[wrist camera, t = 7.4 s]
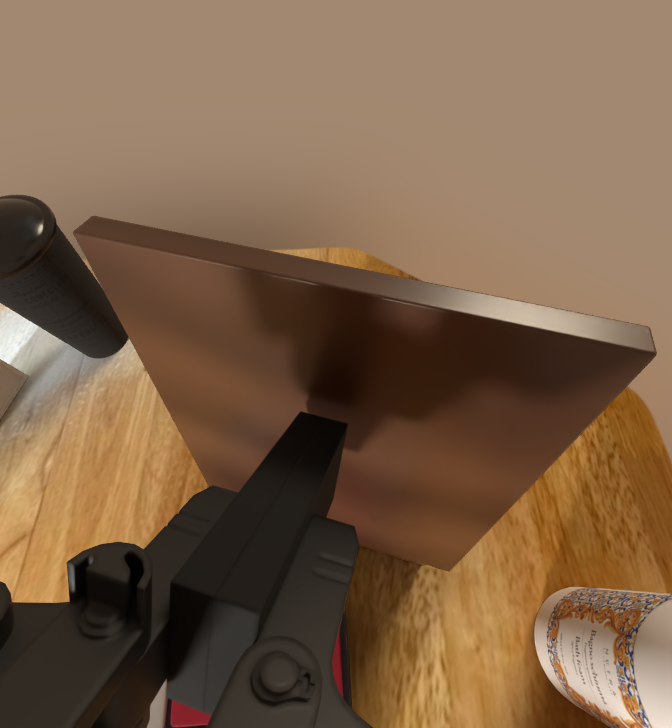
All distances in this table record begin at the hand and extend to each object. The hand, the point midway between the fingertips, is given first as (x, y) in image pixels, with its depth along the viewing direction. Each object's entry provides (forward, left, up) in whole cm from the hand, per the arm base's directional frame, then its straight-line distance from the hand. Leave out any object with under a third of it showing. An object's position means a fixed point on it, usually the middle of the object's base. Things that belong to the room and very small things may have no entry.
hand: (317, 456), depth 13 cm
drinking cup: (+24, +16, -21) cm, 36 cm away
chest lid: (+1, -1, -3) cm, 3 cm away
